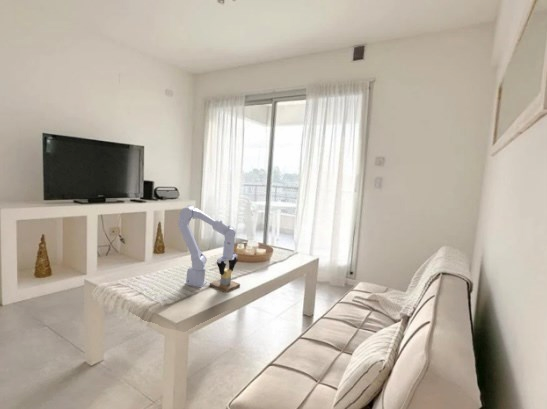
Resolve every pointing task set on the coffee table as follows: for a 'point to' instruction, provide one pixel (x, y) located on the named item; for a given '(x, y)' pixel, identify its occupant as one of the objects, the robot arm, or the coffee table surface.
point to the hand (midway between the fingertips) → (226, 272)
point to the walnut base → (224, 288)
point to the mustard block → (226, 273)
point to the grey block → (225, 281)
